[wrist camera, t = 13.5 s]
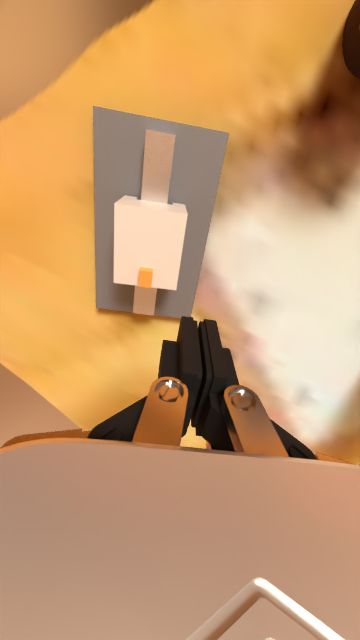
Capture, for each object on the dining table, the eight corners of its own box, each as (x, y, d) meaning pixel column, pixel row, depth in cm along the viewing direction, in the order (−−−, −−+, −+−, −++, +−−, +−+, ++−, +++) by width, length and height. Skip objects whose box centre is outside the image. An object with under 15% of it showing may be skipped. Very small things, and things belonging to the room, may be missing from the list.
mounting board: (226, 134, 25) (228, 133, 23) (189, 313, 35) (190, 319, 34) (97, 108, 23) (93, 106, 22) (99, 302, 34) (96, 308, 32)
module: (184, 204, 26) (188, 216, 21) (175, 269, 30) (176, 294, 24) (124, 195, 26) (112, 204, 20) (122, 263, 29) (111, 286, 24)
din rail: (175, 136, 23) (175, 134, 22) (154, 308, 33) (153, 315, 31) (147, 131, 23) (146, 129, 22) (134, 305, 32) (132, 313, 31)
